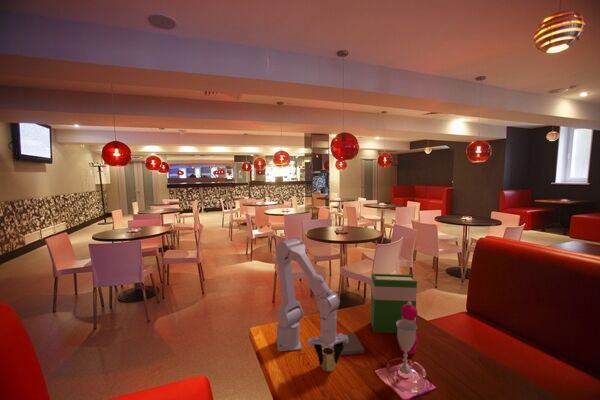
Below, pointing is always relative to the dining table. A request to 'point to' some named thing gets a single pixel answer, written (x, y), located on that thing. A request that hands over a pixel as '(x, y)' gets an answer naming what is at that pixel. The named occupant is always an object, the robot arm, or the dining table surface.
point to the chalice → (406, 340)
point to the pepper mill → (410, 314)
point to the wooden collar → (328, 359)
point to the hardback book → (390, 300)
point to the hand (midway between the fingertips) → (327, 362)
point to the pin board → (350, 345)
